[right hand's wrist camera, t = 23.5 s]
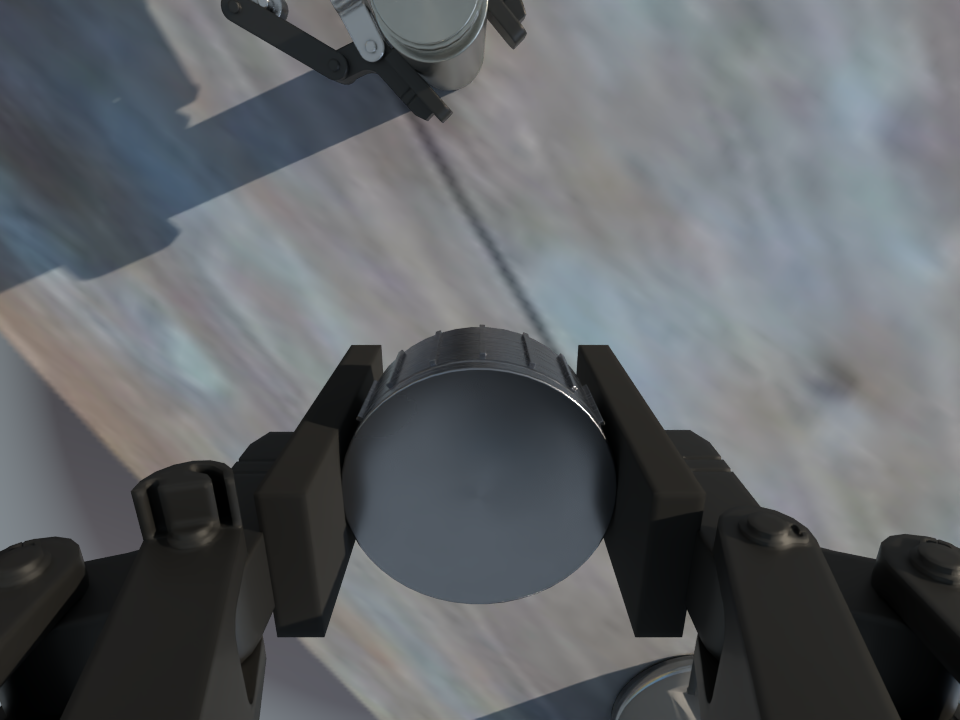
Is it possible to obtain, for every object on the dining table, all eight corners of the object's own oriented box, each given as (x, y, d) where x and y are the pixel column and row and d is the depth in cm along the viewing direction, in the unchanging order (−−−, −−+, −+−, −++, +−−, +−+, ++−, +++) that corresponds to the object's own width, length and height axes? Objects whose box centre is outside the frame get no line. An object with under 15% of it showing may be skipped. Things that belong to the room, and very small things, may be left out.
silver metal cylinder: (399, 64, 32) (336, 6, 18) (434, -7, 31) (397, -134, 16) (460, 105, 33) (448, 81, 18) (497, 37, 32) (514, -46, 17)
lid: (412, 555, 13) (400, 634, 11) (324, 366, 12) (288, 415, 9) (619, 498, 13) (649, 569, 11) (559, 289, 11) (579, 323, 9)
